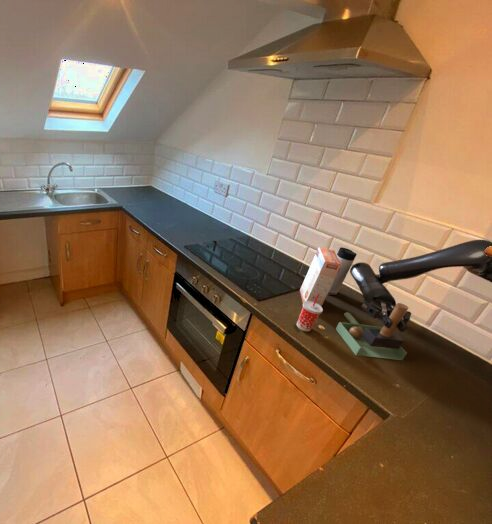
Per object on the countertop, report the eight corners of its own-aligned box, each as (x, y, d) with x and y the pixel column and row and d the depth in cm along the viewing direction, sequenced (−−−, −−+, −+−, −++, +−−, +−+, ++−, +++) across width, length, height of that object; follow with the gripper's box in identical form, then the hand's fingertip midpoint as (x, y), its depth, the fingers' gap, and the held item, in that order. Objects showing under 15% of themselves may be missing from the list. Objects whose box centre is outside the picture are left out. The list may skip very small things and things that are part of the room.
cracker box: (319, 313, 113) (343, 265, 103) (302, 308, 115) (324, 260, 105) (314, 294, 125) (335, 249, 115) (299, 290, 127) (318, 245, 117)
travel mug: (317, 286, 131) (335, 245, 121) (330, 287, 132) (350, 246, 122) (326, 295, 125) (346, 252, 116) (340, 295, 126) (361, 253, 117)
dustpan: (402, 360, 95) (407, 353, 93) (355, 355, 95) (360, 347, 93) (363, 319, 113) (367, 312, 111) (324, 314, 113) (327, 308, 111)
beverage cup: (305, 334, 101) (321, 301, 94) (290, 323, 106) (304, 290, 99) (316, 330, 104) (333, 297, 97) (301, 319, 109) (316, 287, 102)
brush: (388, 339, 97) (412, 302, 90) (398, 349, 93) (423, 311, 86) (361, 336, 97) (382, 299, 90) (370, 346, 93) (393, 308, 86)
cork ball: (358, 323, 103) (367, 330, 99) (355, 333, 104) (364, 340, 101) (347, 324, 102) (356, 331, 99) (344, 334, 104) (353, 341, 100)
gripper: (359, 282, 103) (375, 310, 89) (406, 293, 100) (431, 324, 85) (350, 300, 107) (364, 330, 92) (395, 311, 103) (417, 344, 89)
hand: (396, 327), depth 89 cm, fingers closed on brush, 3 cm apart
